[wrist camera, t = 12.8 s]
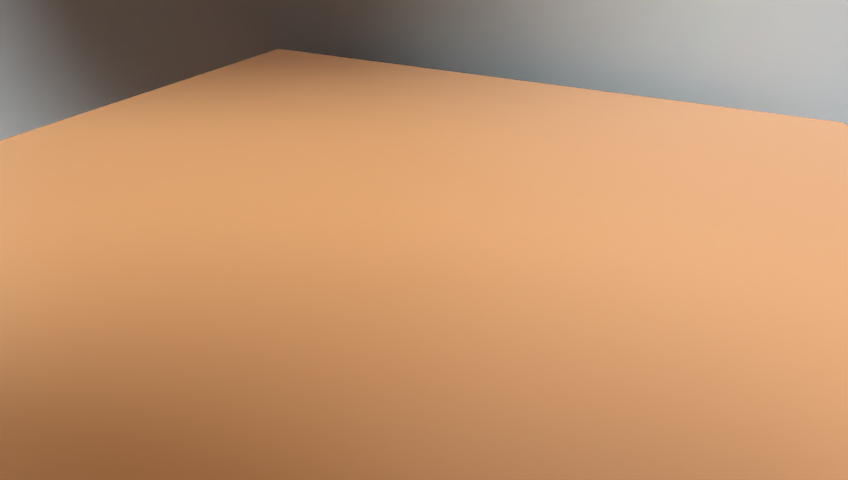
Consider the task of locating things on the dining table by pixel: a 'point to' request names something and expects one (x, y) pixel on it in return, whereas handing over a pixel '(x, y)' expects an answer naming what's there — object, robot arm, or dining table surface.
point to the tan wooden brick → (421, 283)
